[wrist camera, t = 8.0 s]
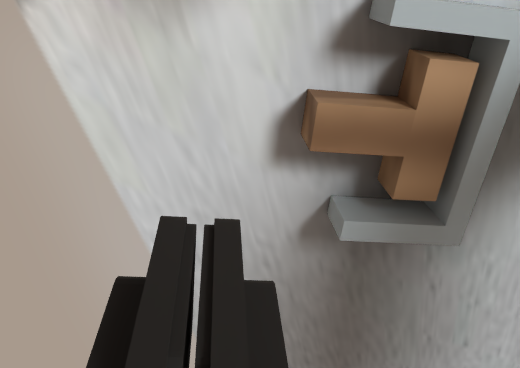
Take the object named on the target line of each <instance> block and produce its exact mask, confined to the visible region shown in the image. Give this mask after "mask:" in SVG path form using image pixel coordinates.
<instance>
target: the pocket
mask: <svg viewBox="0 0 520 368" xmlns="http://www.w3.org/2000/svg"><path fill="white" fill-rule="evenodd" d="M369 18H370V19H373V20H376V21H378V22H381V23H384V24H386V25H389V26H396V27H405V28H413V29H422V30H430V31H439V32H447V33H456V34H464V35H472V36H475V37H474V40H473V44H472V47H471V50H470V53H469V56H468V59H470V60H472V61H475V62H477V63H479V66H478V69H477V72H476V75H475V79H474V82H473V85H472V88H471V91H470V95H469V98H468V101H467V104H466V107H465V110H464V114H463V117H462V120H461V123H460V126H459V130H458V133H457V136H456V139H455V142H454V145H453V149H452V152H451V155H450V158H449V161H448V164H447V168H446V171H445V174H444V177H443V180H442V184H441V187H440V190H439V193H438V196H437V199H436V201H415V200H397V199H381V198H364V197H347V196H331V198H330V203H329V208H328V213H327V214H328V216H329V219H330V221H331V223H332V225H333V227H334V229H335V231H336V233H337V236H338V238H339V240H340V241H361V242H383V243H406V244H428V245H450V246H459V245H460V243H461V240H462V237H463V235H464V232H465V229H466V227H467V224H468V221H469V218H470V216H471V213H472V210H473V208H474V205H475V202H476V200H477V197H478V194H479V192H480V189H481V186H482V183H483V181H484V178H485V175H486V173H487V170H488V167H489V165H490V162H491V159H492V157H493V154H494V151H495V149H496V146H497V143H498V140H499V138H500V135H501V132H502V130H503V127H504V124H505V122H506V119H507V116H508V114H509V111H510V108H511V105H512V103H513V100H514V97H515V95H516V92H517V89H518V87H519V84H520V10H516V9H510V8H503V7H495V6H488V5H480V4H472V3H464V2H457V1H449V0H372V5H371V10H370V14H369Z"/></svg>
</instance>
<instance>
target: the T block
mask: <svg viewBox="0 0 520 368" xmlns="http://www.w3.org/2000/svg"><path fill="white" fill-rule="evenodd" d="M478 66H479V63H477V62H475V61H472V60H470V59H467V58H464V57H462V56H459V55H457V54H454V53H444V52H434V51H423V50H413V49H409V52H408V56H407V60H406V64H405V68H404V72H403V76H402V80H401V84H400V88H399V92H398V96H387V95H375V94H362V93H350V92H338V91H325V90H313V89H308V91H307V97H306V103H305V110H304V116H303V123H302V129H301V135H302V137H303V139H304V141H305V143H306V145H307V146H308V148H309V150H310V151H318V152H335V153H351V154H367V155H383V158H382V162H381V166H380V170H379V174H378V181H379V182H380V183H381V185H382V186H383V187H384V189H385V190H386V191H387V192H388V194H389V195H390V196H391V198H392V199H397V200H418V201H436V199H437V196H438V193H439V190H440V187H441V184H442V180H443V177H444V174H445V171H446V168H447V164H448V161H449V158H450V155H451V152H452V149H453V145H454V142H455V139H456V136H457V133H458V130H459V126H460V123H461V120H462V117H463V114H464V110H465V107H466V104H467V101H468V98H469V95H470V91H471V88H472V85H473V82H474V79H475V75H476V72H477V69H478Z"/></svg>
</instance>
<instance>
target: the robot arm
mask: <svg viewBox="0 0 520 368" xmlns="http://www.w3.org/2000/svg"><path fill="white" fill-rule="evenodd" d="M195 248H196V224H187V217H171V216H161V217H160V221H159V225H158V230H157V234H156V238H155V242H154V246H153V251H152V255H151V259H150V263H149V267H148V272H147V276H146V277H123V276H118V277H117V278H116V280H115V282H114V285H113V288H112V291H111V294H110V297H109V300H108V303H107V306H106V309H105V312H104V315H103V318H102V321H101V324H100V327H99V330H98V333H97V336H96V339H95V342H94V345H93V349H92V351H91V354H90V357H89V360H88V363H87V366H86V368H189V360H190V348H191V336H192V320H193V297H194V272H195ZM195 368H288V363H287V356H286V350H285V344H284V338H283V331H282V325H281V319H280V313H279V306H278V300H277V294H276V288H275V283H274V282H273V281H254V280H244V275H243V259H242V244H241V229H240V220H237V219H215V222H214V225H204V239H203V254H202V269H201V284H200V298H199V313H198V328H197V343H196V358H195Z"/></svg>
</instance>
